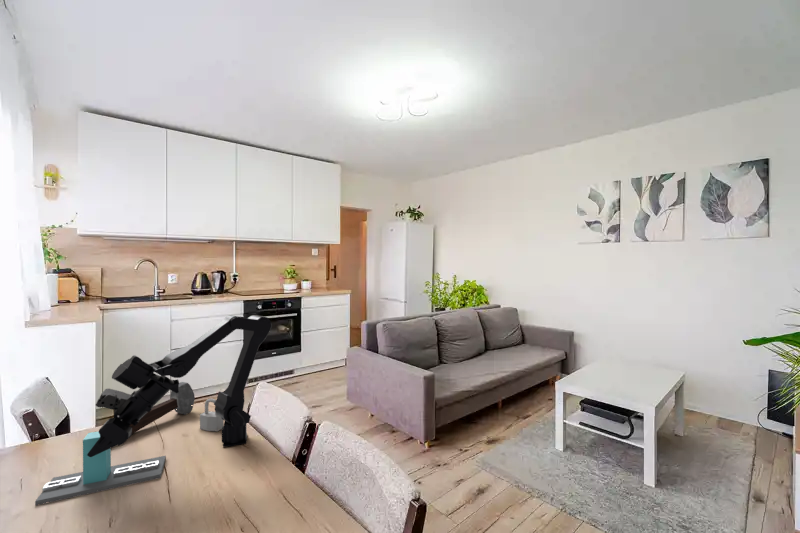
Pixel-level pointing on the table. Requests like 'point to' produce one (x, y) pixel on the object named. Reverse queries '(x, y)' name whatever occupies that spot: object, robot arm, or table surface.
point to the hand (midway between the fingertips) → (95, 447)
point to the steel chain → (117, 473)
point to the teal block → (95, 461)
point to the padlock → (210, 419)
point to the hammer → (169, 406)
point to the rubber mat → (102, 485)
